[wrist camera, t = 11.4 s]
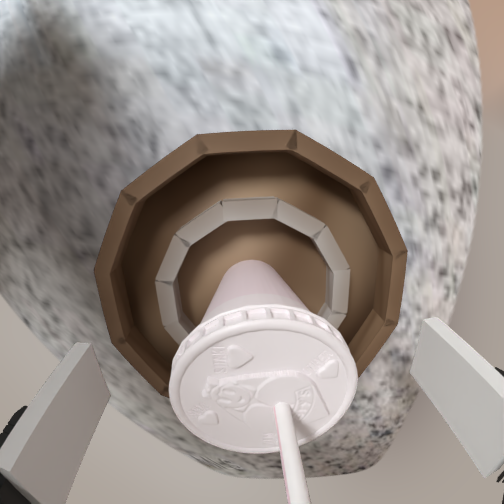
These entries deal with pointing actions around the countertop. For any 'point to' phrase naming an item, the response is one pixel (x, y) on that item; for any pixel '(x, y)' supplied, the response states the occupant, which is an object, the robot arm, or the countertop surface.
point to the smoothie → (262, 372)
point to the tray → (248, 243)
